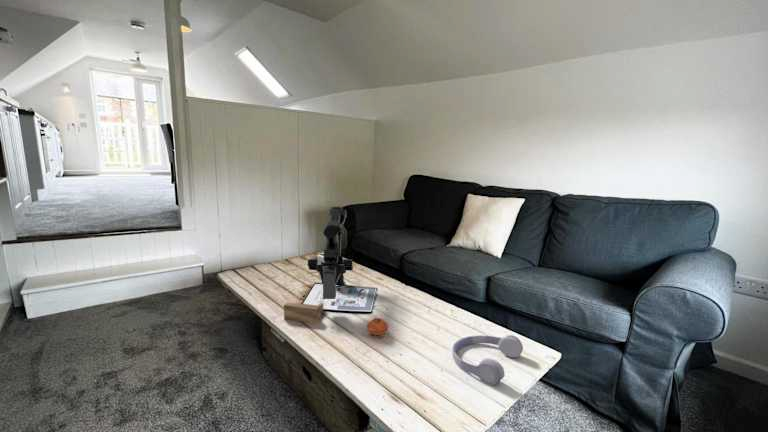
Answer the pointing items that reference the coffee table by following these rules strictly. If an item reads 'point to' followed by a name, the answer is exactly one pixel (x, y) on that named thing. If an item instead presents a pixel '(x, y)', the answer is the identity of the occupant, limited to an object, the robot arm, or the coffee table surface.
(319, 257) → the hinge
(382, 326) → the pot
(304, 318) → the brown wooden frame
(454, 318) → the coffee table surface
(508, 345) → the headphones
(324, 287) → the stepped grey pillar
